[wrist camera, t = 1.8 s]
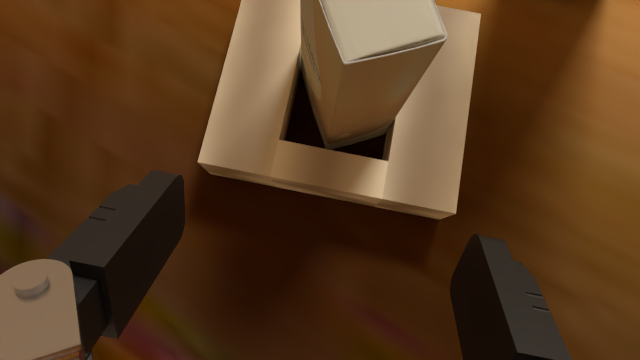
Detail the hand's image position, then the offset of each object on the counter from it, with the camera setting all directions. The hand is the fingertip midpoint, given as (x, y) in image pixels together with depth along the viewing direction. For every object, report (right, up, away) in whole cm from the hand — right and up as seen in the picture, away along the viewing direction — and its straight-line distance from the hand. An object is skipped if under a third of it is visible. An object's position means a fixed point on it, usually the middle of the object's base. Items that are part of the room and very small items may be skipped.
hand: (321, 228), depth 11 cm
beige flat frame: (+1, +6, +16) cm, 17 cm away
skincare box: (+2, +6, +16) cm, 18 cm away
